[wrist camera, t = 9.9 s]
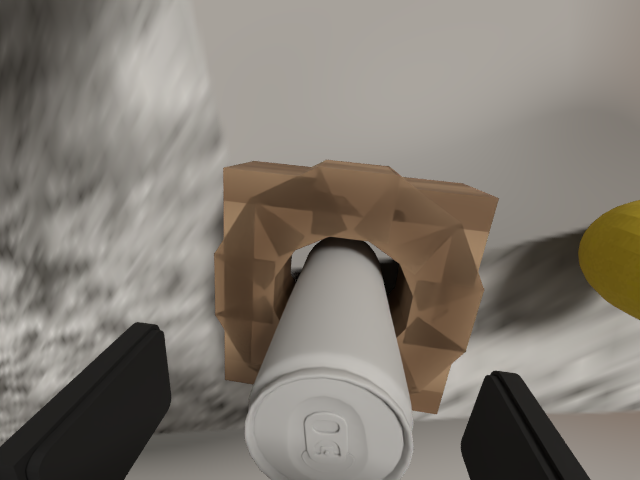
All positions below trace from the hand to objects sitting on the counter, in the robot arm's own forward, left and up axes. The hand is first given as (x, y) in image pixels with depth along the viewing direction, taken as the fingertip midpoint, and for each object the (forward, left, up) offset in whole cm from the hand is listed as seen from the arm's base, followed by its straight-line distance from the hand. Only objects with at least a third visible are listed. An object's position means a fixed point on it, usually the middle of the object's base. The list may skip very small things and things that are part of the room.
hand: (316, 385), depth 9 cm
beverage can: (+1, 0, -11) cm, 11 cm away
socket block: (+1, +1, -11) cm, 11 cm away
